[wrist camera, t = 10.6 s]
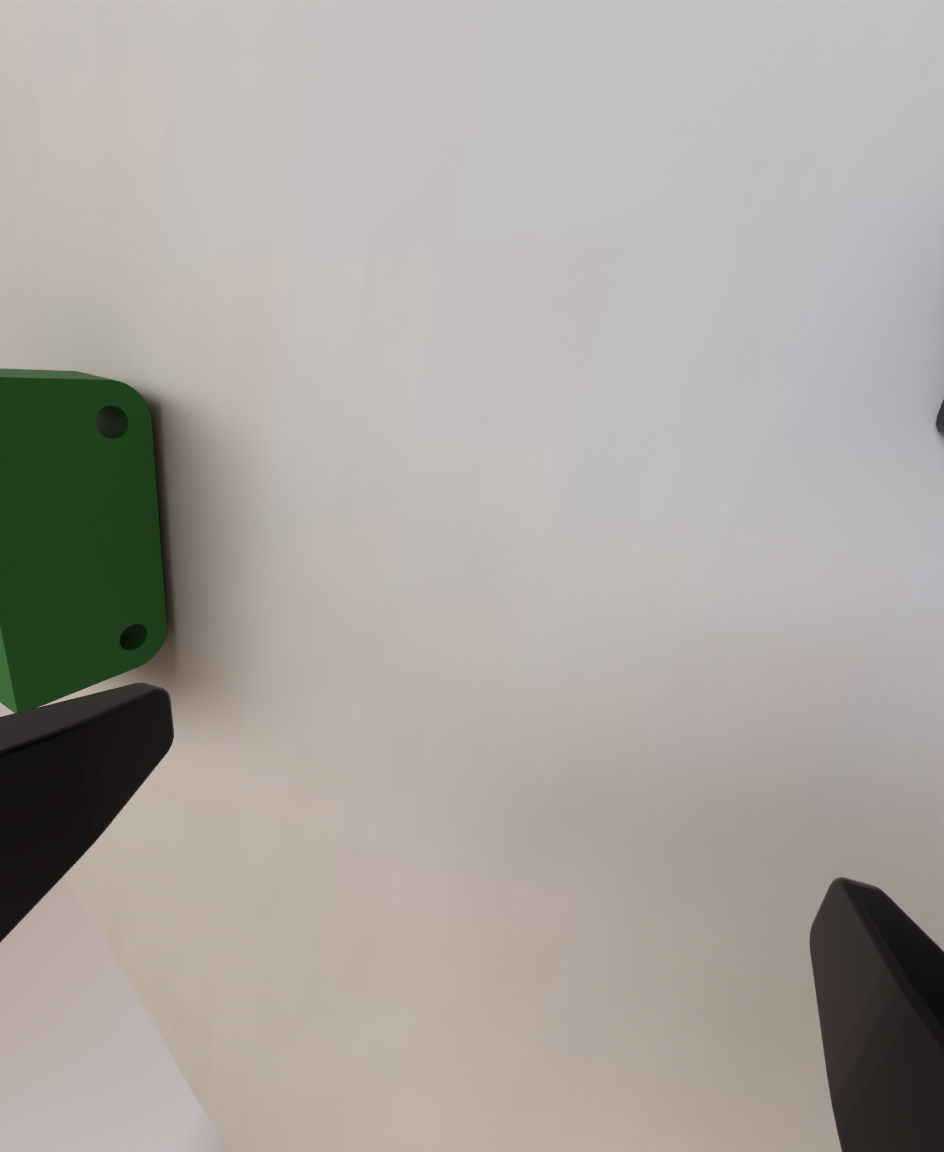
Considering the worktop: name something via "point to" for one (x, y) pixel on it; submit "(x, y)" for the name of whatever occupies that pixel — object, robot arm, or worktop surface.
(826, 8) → the worktop surface
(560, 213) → the worktop surface
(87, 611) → the clamp
